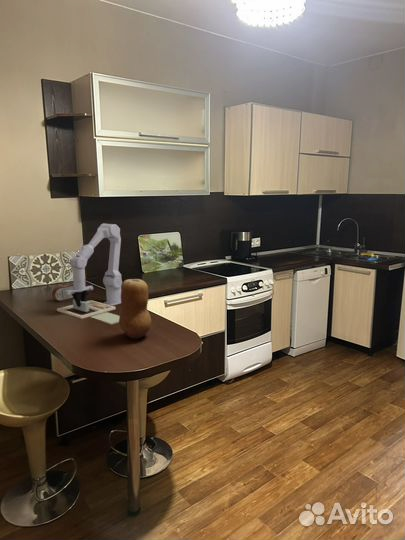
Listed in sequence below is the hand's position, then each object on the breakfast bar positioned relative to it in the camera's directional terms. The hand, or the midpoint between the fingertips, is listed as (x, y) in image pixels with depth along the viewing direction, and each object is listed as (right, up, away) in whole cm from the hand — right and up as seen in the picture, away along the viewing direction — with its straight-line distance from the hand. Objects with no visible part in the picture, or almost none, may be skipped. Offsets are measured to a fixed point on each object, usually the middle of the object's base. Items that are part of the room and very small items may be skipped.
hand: (80, 305), depth 205 cm
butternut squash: (+34, -10, -35) cm, 50 cm away
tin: (-16, +1, +25) cm, 30 cm away
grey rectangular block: (0, -2, 0) cm, 2 cm away
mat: (+17, -5, -10) cm, 20 cm away
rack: (+2, -3, +3) cm, 5 cm away
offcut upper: (+6, -1, +8) cm, 10 cm away
